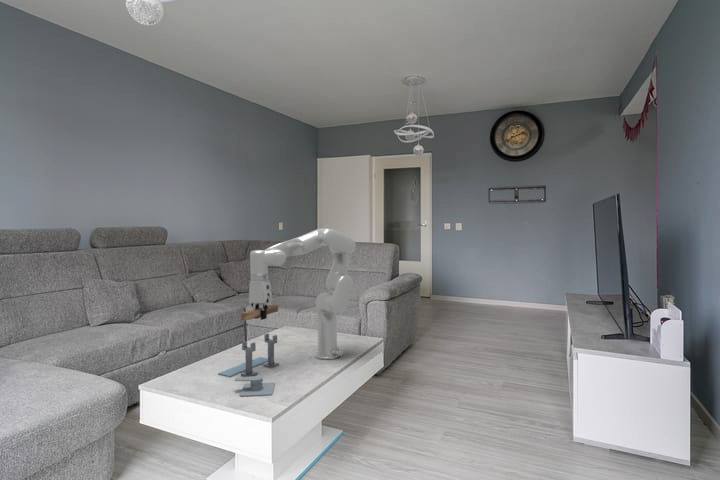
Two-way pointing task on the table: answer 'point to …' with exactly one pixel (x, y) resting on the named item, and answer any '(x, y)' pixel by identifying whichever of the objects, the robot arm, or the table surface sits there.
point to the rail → (258, 312)
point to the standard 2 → (270, 351)
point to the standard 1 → (248, 359)
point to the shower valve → (255, 387)
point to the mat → (243, 367)
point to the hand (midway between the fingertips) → (260, 318)
